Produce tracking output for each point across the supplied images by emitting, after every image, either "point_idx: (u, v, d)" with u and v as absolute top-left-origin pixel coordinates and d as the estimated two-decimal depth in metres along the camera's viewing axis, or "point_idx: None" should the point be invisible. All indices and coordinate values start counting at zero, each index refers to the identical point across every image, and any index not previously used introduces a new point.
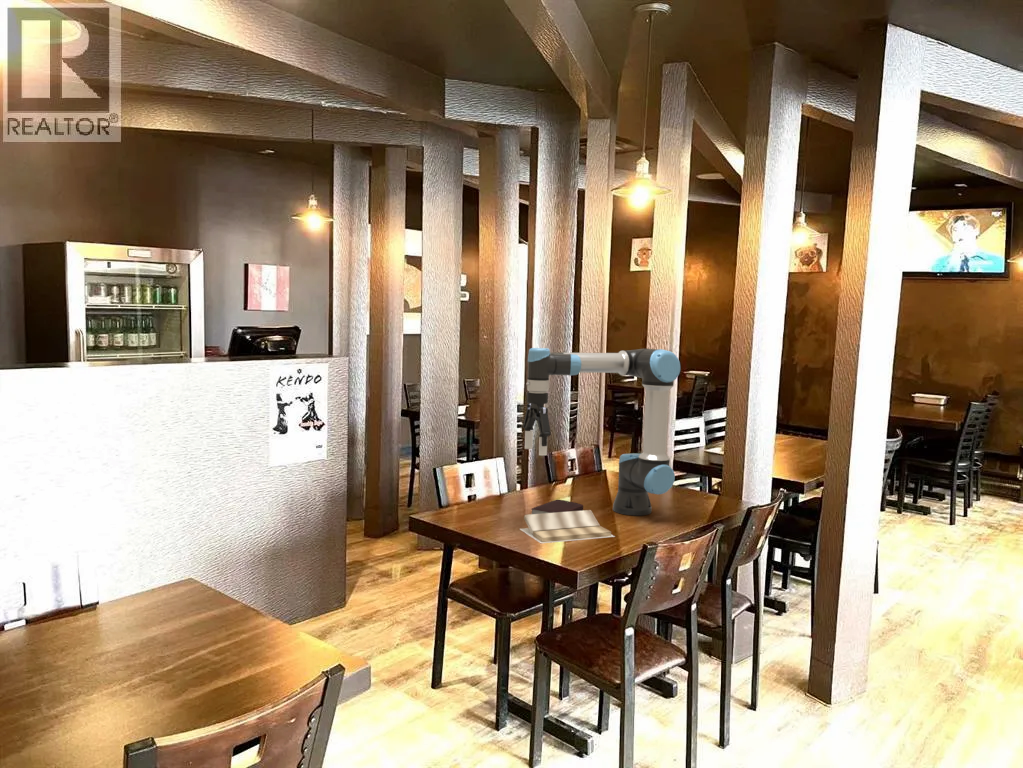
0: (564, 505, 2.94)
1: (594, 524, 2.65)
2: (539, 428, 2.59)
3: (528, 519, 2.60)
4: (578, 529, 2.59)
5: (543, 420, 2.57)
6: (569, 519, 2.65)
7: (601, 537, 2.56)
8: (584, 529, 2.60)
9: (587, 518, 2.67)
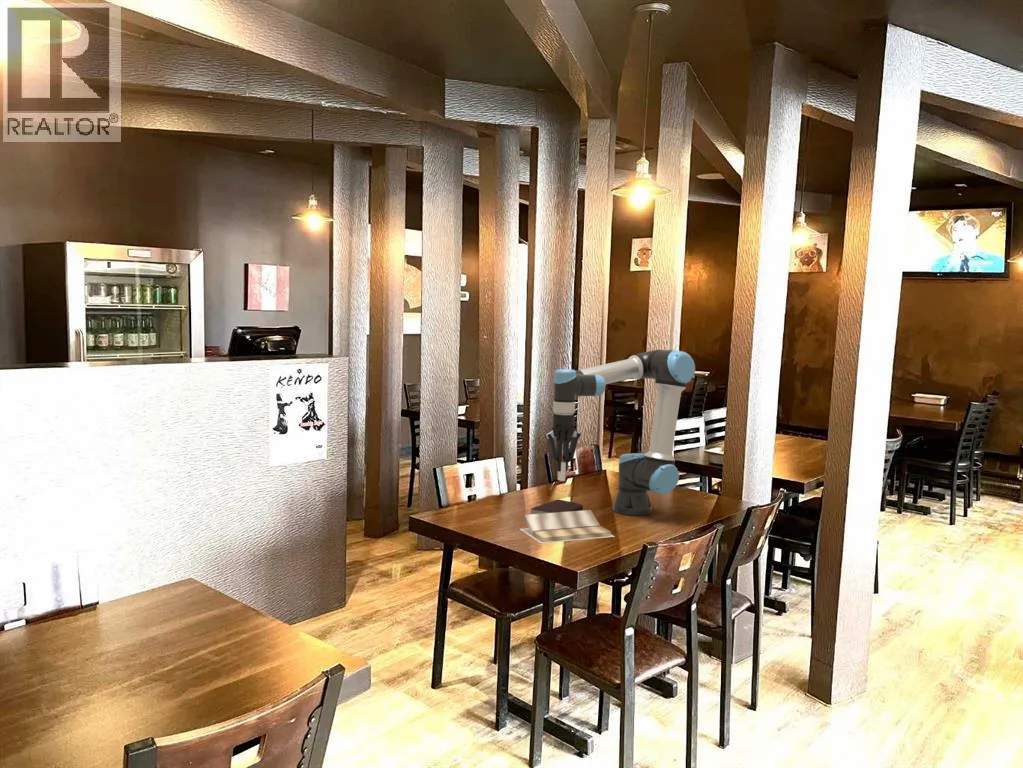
0: (564, 505, 2.94)
1: (594, 524, 2.65)
2: None
3: (528, 519, 2.60)
4: (578, 529, 2.59)
5: (549, 446, 2.62)
6: (569, 519, 2.65)
7: (601, 537, 2.56)
8: (584, 529, 2.60)
9: (587, 518, 2.67)
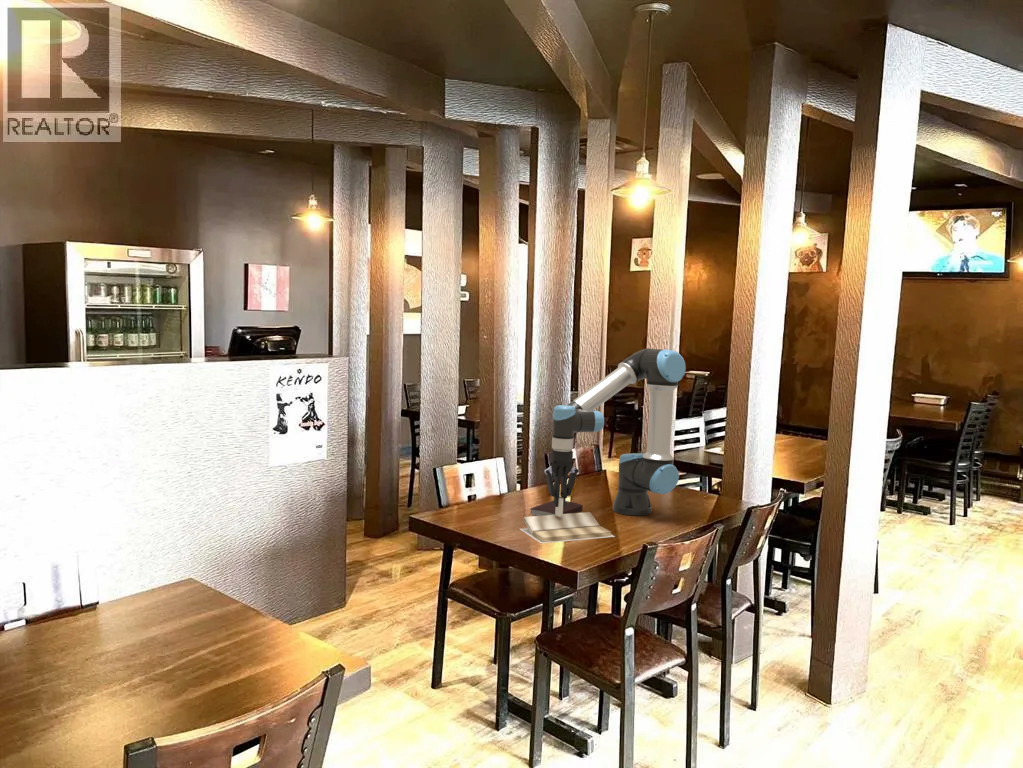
0: None
1: (594, 524, 2.65)
2: None
3: (527, 520, 2.61)
4: (578, 529, 2.59)
5: (547, 481, 2.63)
6: (568, 520, 2.65)
7: (601, 537, 2.56)
8: (584, 529, 2.60)
9: (586, 519, 2.68)
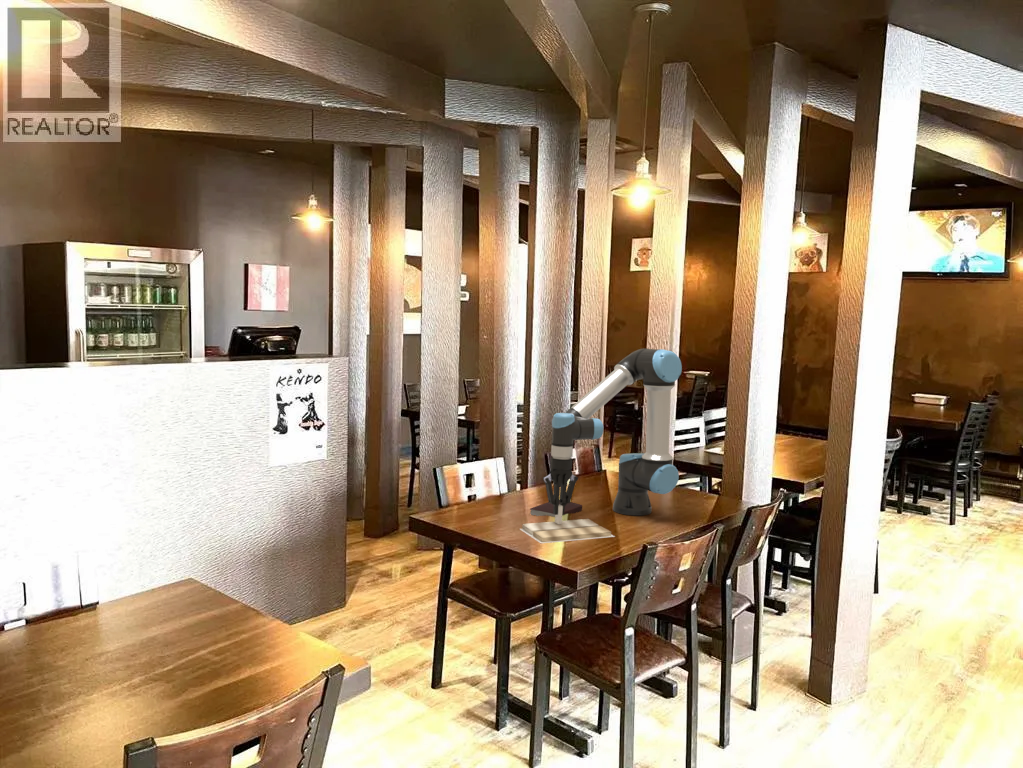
0: None
1: (593, 525, 2.66)
2: None
3: (526, 525, 2.62)
4: (578, 529, 2.59)
5: (546, 489, 2.64)
6: (567, 524, 2.66)
7: (601, 537, 2.56)
8: (584, 529, 2.60)
9: (585, 522, 2.69)
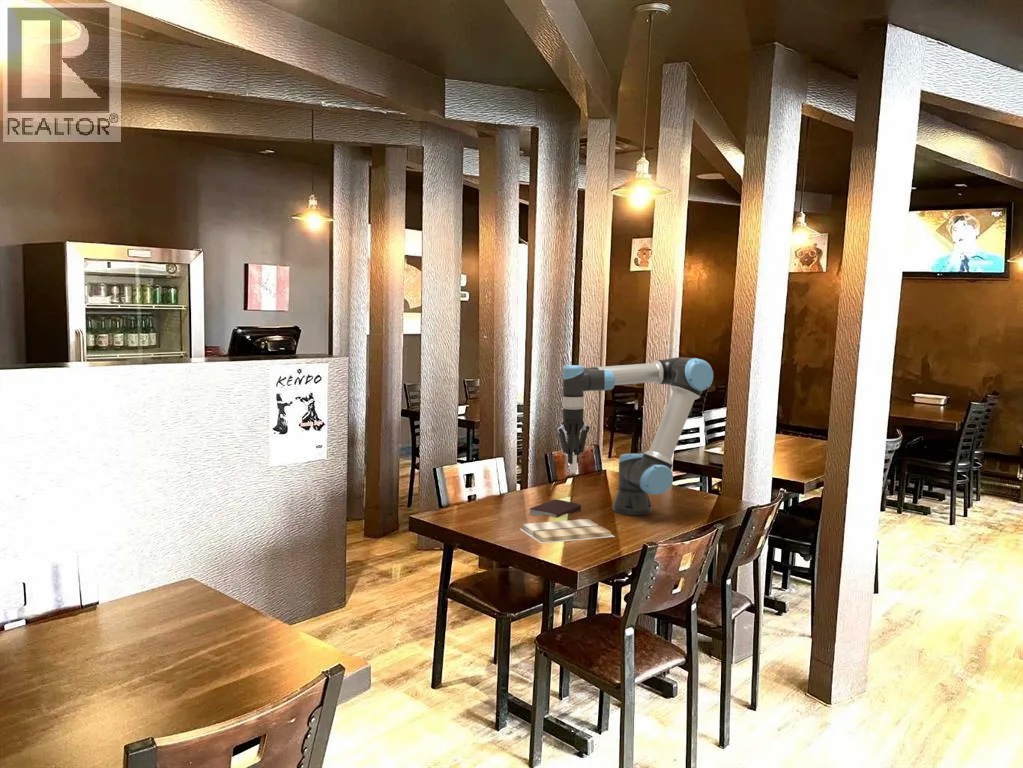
0: (562, 505, 2.94)
1: (593, 525, 2.66)
2: None
3: (526, 525, 2.62)
4: (578, 529, 2.59)
5: (560, 439, 2.72)
6: (567, 524, 2.66)
7: (601, 537, 2.56)
8: (584, 529, 2.60)
9: (585, 522, 2.69)
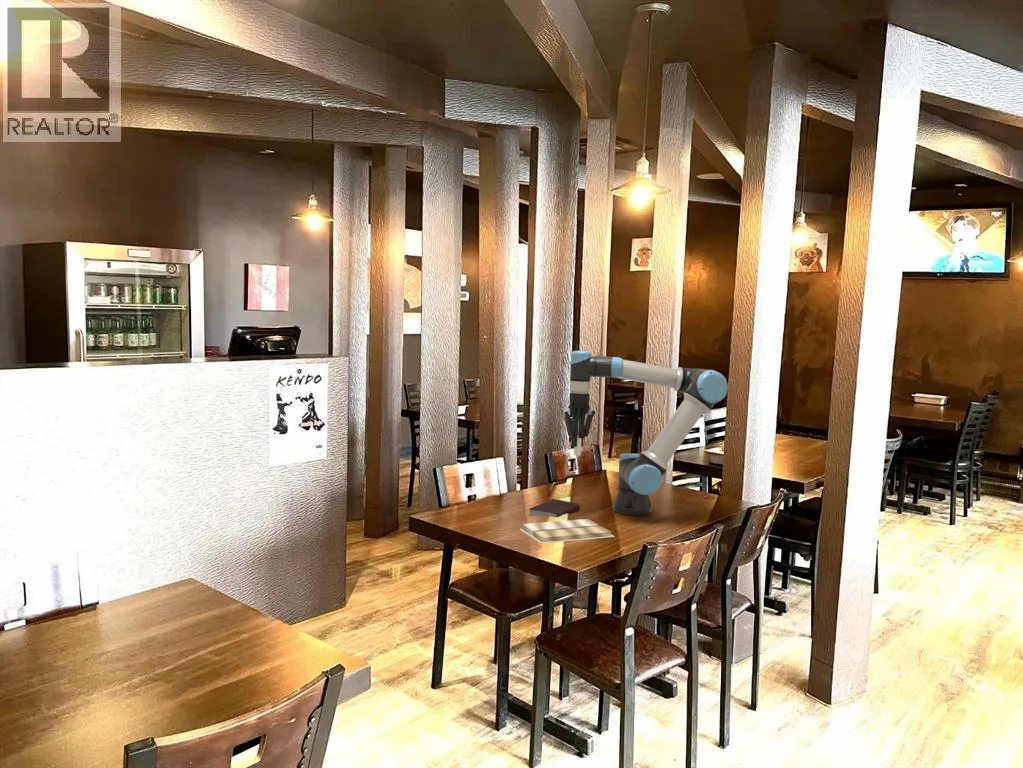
0: (561, 505, 2.94)
1: (593, 525, 2.66)
2: None
3: (526, 525, 2.62)
4: (578, 529, 2.59)
5: (566, 422, 2.79)
6: (567, 524, 2.66)
7: (601, 537, 2.56)
8: (584, 529, 2.60)
9: (585, 522, 2.69)
